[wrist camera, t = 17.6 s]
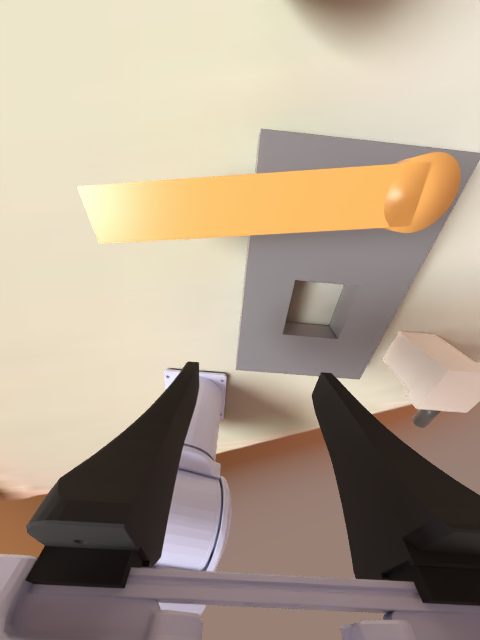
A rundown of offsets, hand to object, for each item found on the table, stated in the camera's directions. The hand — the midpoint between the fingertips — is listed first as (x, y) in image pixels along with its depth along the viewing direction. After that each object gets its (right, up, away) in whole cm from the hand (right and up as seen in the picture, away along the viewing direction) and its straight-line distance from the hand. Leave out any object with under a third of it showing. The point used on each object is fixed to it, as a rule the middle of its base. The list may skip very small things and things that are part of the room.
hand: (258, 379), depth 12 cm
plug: (+18, -1, +12) cm, 22 cm away
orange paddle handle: (0, +9, -2) cm, 10 cm away
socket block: (+6, +7, +8) cm, 12 cm away
